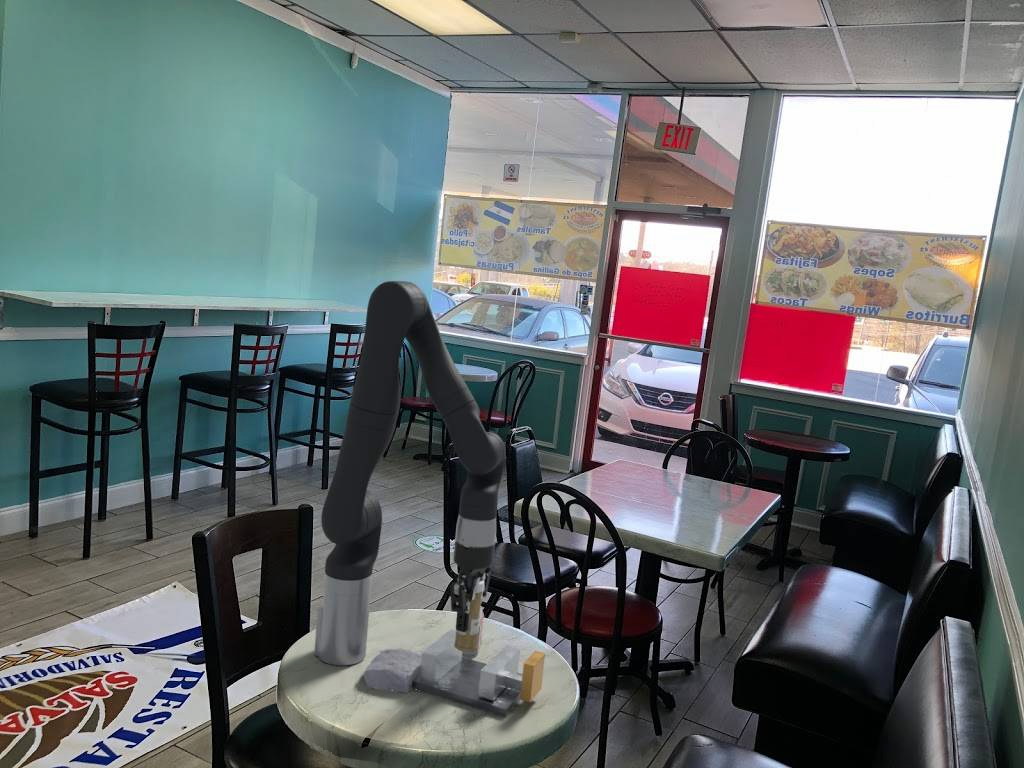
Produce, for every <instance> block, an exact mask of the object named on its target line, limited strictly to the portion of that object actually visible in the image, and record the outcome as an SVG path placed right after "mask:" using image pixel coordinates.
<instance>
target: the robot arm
mask: <svg viewBox="0 0 1024 768" xmlns="http://www.w3.org/2000/svg"><path fill="white" fill-rule="evenodd" d="M430 305H431V304H430V303H429V300H428V299H427V296H426V294H425V292H424V290H422V288H421V287H420V286H418V285H417V284H415V283H413V282H411V281H405V280H402V281H401V280H388V281H387V280H386V281H384V282H382V283H380V284H379V285H377V286H376V288H374V289H373V291H372V293H371V295H370V297H369V299H368V304H367V308H366V318H365V326H364V327H365V328H364V336H363V343H362V345H363V346H362V350H361V351H362V352H361V355H360V360H359V363H358V368H357V373H356V375H355V376H356V377H355V381H354V382H355V383H354V387H353V390H352V394H351V397H350V403H349V406H348V407H349V408H348V411H347V414H346V416H347V417H346V421H345V426H344V432H343V436H342V441H341V445H340V449H339V453H338V458H337V462H336V467H335V471H334V473H333V476H332V480H331V483H330V486H329V488H328V492H327V495H326V497H325V500H324V504H323V507H322V511H321V516H320V517H321V518H320V519H321V520H320V521H321V528H322V531H323V533H324V535H325V537H326V538H327V540H328V541H330V543H332V544H335V545H334V547H333V548H332V550H331V552H330V553H329V554H328V555H327V557H326V559H325V564H324V577H323V578H324V579H323V593H322V594H323V595H322V603H321V604H322V605H321V606H320V607H319V608H318V609H317V613H316V622H315V623H316V625H315V639H314V652H313V653H314V654H313V655H314V656H317V657H318V658H319V659H320V660H321V661H322V662H324V663H326V664H329V665H334V666H351V665H355V664H358V663H361V662H362V661H363V660H364V659H366V655H367V654H366V651H367V641H368V640H367V639H368V631H369V618H370V606H371V595H372V593H371V592H372V583H373V582H372V581H373V580H372V579H373V570H374V569H373V568H374V565H375V563H376V561H377V558H378V555H379V549H380V541H381V540H380V539H381V534H382V533H381V532H382V525H383V510H382V506H381V503H380V501H379V499H378V498H377V496H376V495H375V494H374V493H373V492H370V491H368V488H369V482H370V480H371V477H372V475H373V472H374V471H375V469H376V468H377V466H378V464H379V462H380V461H381V459H382V458H383V455H384V454H385V452H386V450H387V448H388V446H390V443H391V440H392V439H393V436H394V432H395V429H396V424H397V420H398V416H399V412H400V407H401V383H400V382H401V381H400V369H399V368H400V365H399V364H400V359H401V353H402V350H403V346H404V341H405V340H406V341H407V342H408V344H409V346H410V347H411V349H412V351H413V353H414V355H415V356H416V360H417V361H418V365H419V367H420V368H419V369H421V370H420V371H421V375H422V378H423V382H424V385H425V388H426V390H427V393H428V396H429V397H430V400H431V401H432V403H433V405H434V407H435V409H436V411H437V412H438V414H439V416H440V418H441V419H442V421H443V423H444V424H445V426H446V428H447V431H448V433H449V437H450V440H451V442H452V446H453V448H454V450H455V453H456V456H457V457H458V459H459V461H460V463H461V464H462V466H463V467H464V468H465V470H467V476H466V481H465V483H464V485H463V486H462V489H461V491H460V492H461V493H460V500H459V509H458V517H457V521H456V526H455V528H456V529H455V538H454V539H455V540H454V550H453V562H454V564H456V565H457V566H458V567H459V569H460V570H459V572H458V573H459V574H458V577H457V582H451V583H450V586H449V588H450V606H451V608H450V609H451V610H450V611H451V612H456V621H455V631H456V630H458V631H461V632H466V631H467V630H468V623H469V611H470V606H471V602H472V601H474V599H475V594H476V586H478V585H479V581H480V580H482V581H484V587H483V591H482V596H481V604H482V603H483V601H484V599H483V598H486V597H487V593H488V589H489V584H490V577H491V576H492V575H491V574H492V569H493V567H492V566H493V564H494V558H495V548H496V537H497V513H498V503H499V501H498V498H499V488H500V485H501V482H502V476H503V474H504V473H503V472H504V468H505V461H506V446H505V444H504V441H503V440H502V438H501V437H500V435H498V434H496V433H494V432H491V431H486V430H485V427H484V425H483V423H482V420H481V419H480V415H481V410H480V407H479V405H478V403H477V401H476V399H475V397H474V396H473V394H472V393H471V390H470V389H469V387H468V385H467V384H466V382H465V380H464V378H463V376H462V375H461V373H460V372H459V369H458V368H457V366H456V364H455V362H454V360H453V358H452V356H451V354H450V352H449V350H448V348H447V345H446V343H445V341H444V340H443V337H442V334H441V332H440V330H439V327H438V325H437V322H436V320H435V316H434V314H433V311H432V308H431V306H430ZM465 593H469V594H470V593H471V595H470V596H466V595H465ZM466 601H467V603H466Z"/></svg>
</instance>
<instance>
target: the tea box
mask: <svg viewBox="0 0 1024 768" xmlns="http://www.w3.org/2000/svg"><path fill="white" fill-rule="evenodd" d="M480 608H481V610H480V621H479V632H478V641H477V644H478V647H477V649H476V650H474V651H471V652H465V651H462V655H470V656H476V655H477V656H478V655H479V652H480V649H481V645H482V638H483V629H484V619H485V615H484V611H483V609H482V606H481V607H480Z"/></svg>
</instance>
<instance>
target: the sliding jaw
mask: <svg viewBox="0 0 1024 768" xmlns="http://www.w3.org/2000/svg"><path fill="white" fill-rule="evenodd" d="M520 655H521V649H520V648H516V647H513V646H509V645H505V646H504V647H502V649H501V650H500V651H499V652H498V653H497V654H495V656H493V658H492V659H490V660H489V662H487V663H486V664H487V665H486V666H484V667H483V668H482V669H481V674H480V684H479V694H478V696H480V697H483V698H486V699H489V700H493V701H494V699H495V698H496V697H497V696H498V695H499V694H500V693H501V692H502V691H503V689H504V688H505V687H508V688H511V689H514V690H518V691H521V694H520V701H524V702H527V703H531V702H532V701H533V700H534V699H535V697H536V696H537V695H538V694H539V692H540V691H541V690H542V687H543V677H544V670H545V669H544V668H545V660H546V658H545V657H546V653H544V652H541V651H538V650H534V651H533V653H532V654H531V655H529V657H528V658H527V659H526V660H525V661H524V662H523V667H522V668H523V669H522V674H523V676H522V675H518V673H519V664H520V657H521V656H520Z"/></svg>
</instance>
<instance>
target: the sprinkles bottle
mask: <svg viewBox="0 0 1024 768" xmlns="http://www.w3.org/2000/svg"><path fill="white" fill-rule="evenodd" d="M483 587H484V581H482V580H480V581H479V585H478V586H476V594H475V599H474V601H472V602H471V606H470V611H469V623H468V630H467V631H466V632H461V631H458V630H456V629H455V631H456V639H455V643H454V646H455V648H456V649H458V650H460V651H465V652H471V651H474V650H476V649H477V647H478V644H477V641H478V632H479V621H480V610H481V608H482V605H481V604H482V603H481V596H482V591H483ZM465 595H466V596H470V595H471V593H470V594H469V593H465ZM466 603H467V601H466ZM480 607H481V608H480Z"/></svg>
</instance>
